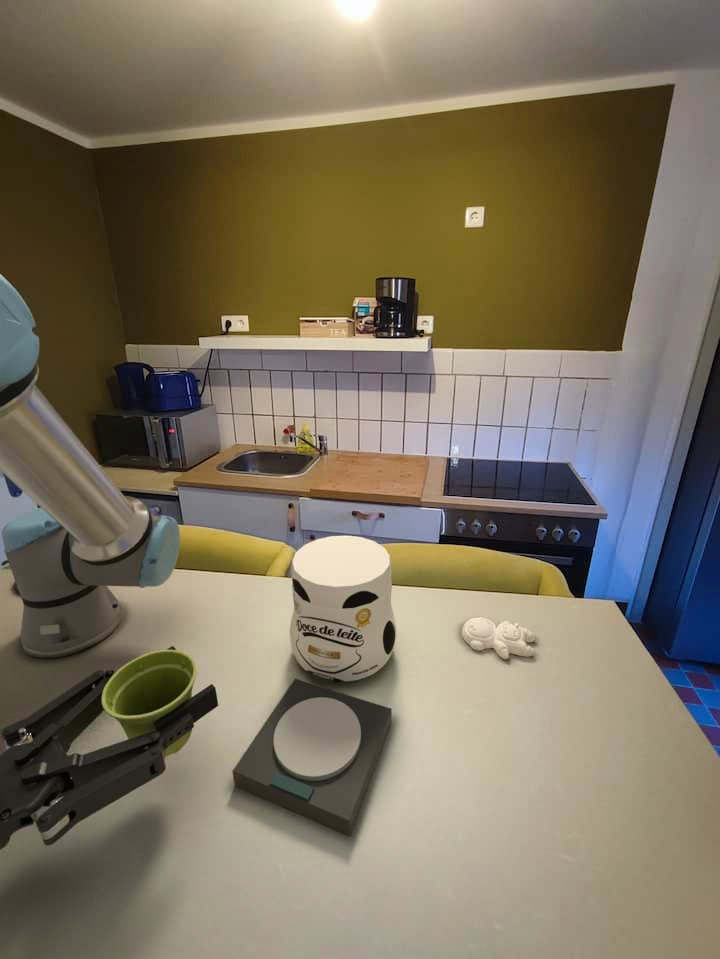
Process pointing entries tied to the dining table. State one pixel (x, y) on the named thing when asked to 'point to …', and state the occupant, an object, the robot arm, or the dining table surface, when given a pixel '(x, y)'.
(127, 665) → the plant pot
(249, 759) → the scale
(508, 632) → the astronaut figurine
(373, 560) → the milk container
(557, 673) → the dining table surface
